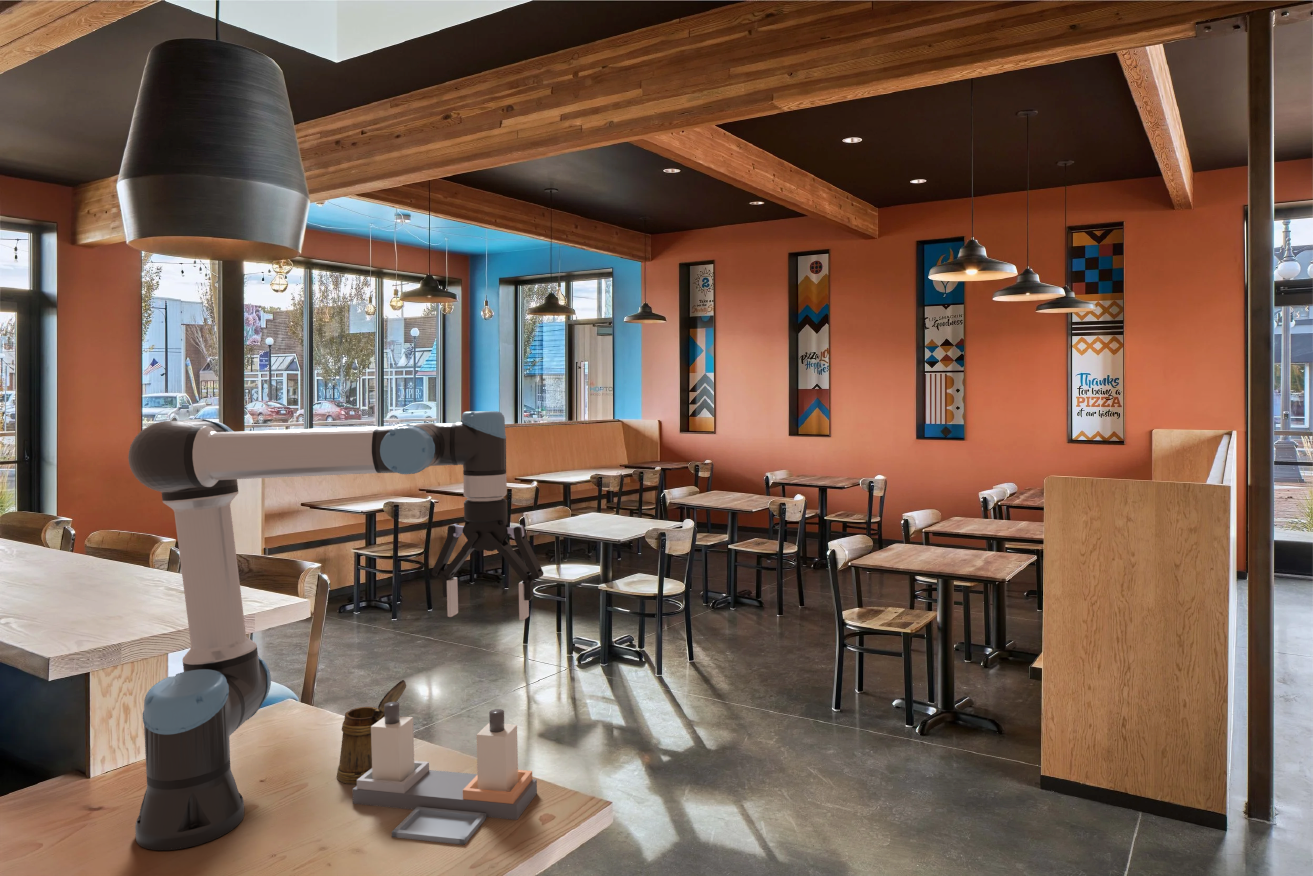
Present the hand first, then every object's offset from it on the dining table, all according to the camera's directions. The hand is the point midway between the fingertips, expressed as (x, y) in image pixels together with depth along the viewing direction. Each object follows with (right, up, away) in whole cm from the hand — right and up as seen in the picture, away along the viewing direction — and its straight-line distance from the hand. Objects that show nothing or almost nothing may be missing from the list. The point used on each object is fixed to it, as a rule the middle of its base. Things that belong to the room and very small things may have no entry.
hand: (488, 616), depth 148 cm
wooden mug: (-21, -29, +2) cm, 36 cm away
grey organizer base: (-5, -29, -9) cm, 31 cm away
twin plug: (-15, -26, -7) cm, 31 cm away
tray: (-4, -30, -18) cm, 35 cm away
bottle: (+4, -26, -11) cm, 29 cm away
